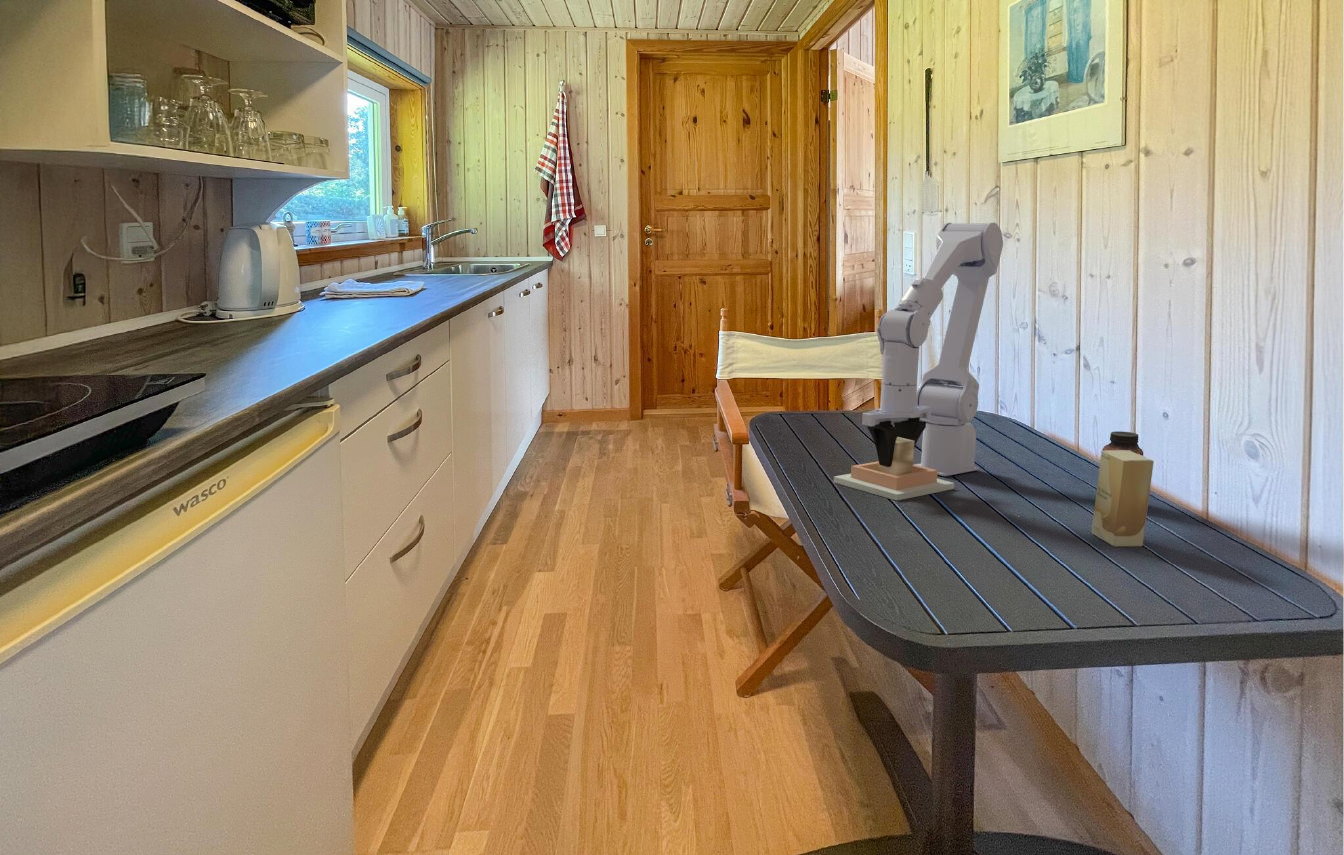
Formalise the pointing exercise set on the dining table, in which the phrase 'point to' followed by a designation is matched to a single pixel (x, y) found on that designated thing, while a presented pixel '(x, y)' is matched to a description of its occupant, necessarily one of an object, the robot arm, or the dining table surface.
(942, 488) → the collar board
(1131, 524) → the skincare box
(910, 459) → the maple peg
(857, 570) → the dining table surface
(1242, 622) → the dining table surface
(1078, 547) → the dining table surface
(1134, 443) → the supplement bottle
